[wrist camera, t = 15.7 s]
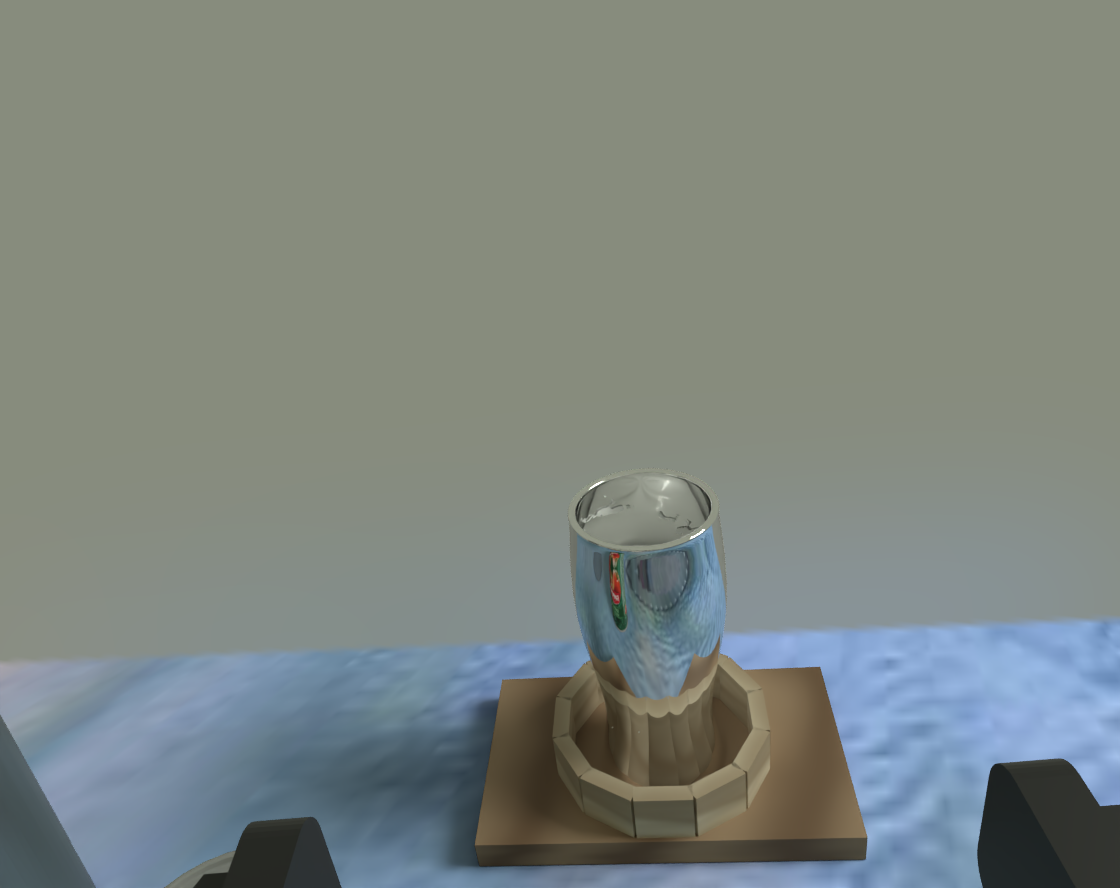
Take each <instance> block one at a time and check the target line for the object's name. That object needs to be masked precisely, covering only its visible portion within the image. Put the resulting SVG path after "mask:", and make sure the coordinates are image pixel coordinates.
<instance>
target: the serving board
mask: <svg viewBox="0 0 1120 888" xmlns="http://www.w3.org/2000/svg"><path fill="white" fill-rule="evenodd" d="M713 711H714V716H715V719H716V722H717V726H718V729H719V733H720V736H721V741H722V747H723V757H722V762H721V765H720V768H719V770H718V771H716V772H714V773H712V774H710V775H708V776H706V777H705V778H703V779H701V780H699V781H697V782H695V783H693V784H691V785H688V786H650V787H635V786H633V785H631V784H628V783H626V782H624V781H622V780H619V779H617V778H615V777H612V776H611V775H610V774H609V772H608V770H607V768H606V766H605V763H604V758H603V740H604V732H605V724H606V707H605V702H604V697H603V694H602V691H601V688H600V685H599V682H598V679H597V676H596V674H595V671H594V668H593V666H592V663H591V660H590V661H588V662H586V664H583V666H582V667H581V668H580V669H579V670H578V671H577V673H576V674H575V675H574V676H573V677H558V678H533V679H509V680H502V685H501V691H500V697H499V703H498V709H497V715H496V721H495V727H494V733H493V739H492V745H491V751H490V757H489V763H488V769H487V775H486V781H485V787H484V793H483V798H482V804H481V810H480V816H479V822H478V828H477V834H476V840H475V849H476V853H477V858H478V862H479V866H519V865H576V864H633V863H691V862H748V861H806V860H863V859H866V850H867V834H866V831H865V827H864V823H863V820H862V816H861V813H860V809H859V805H858V802H857V798H856V795H855V791H854V787H853V784H852V780H851V777H850V773H849V769H848V766H847V762H846V759H845V755H844V751H843V748H842V744H841V741H840V737H839V733H838V730H837V726H836V723H835V719H834V715H833V712H832V708H831V705H830V701H829V697H828V694H827V690H826V687H825V683H824V679H823V676H822V672H821V669H820V667H806V668H781V669H756V670H743V669H742V668H741V667H739V666H738V665H737V664H736V663H735V662H734V661H733V660H732V659H731V658H728V656H726V655H723V654H720V655H719V660H718V665H717V670H716V675H715V681H714V687H713Z"/></svg>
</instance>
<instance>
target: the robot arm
mask: <svg viewBox="0 0 1120 888" xmlns="http://www.w3.org/2000/svg"><path fill="white" fill-rule="evenodd" d="M977 857H978V866H979V873H980V878H981V882H982V886H983V888H1120V805H1110V806H1100V805H1099V804H1098V802H1097V801H1096V799H1095V798H1094V796H1093V795H1092V793H1091V792H1090V790H1089V789H1088V787H1087V786H1086V784H1085V782H1084V781H1083V779H1082V778H1081V776H1080V775H1079V773H1078V772H1077V771H1076V769H1075V768H1074V767H1073V766H1072V765H1071V764H1070V763H1069V762H1068V761H1066V760H1064V759H1047V760H1034V761H1022V762H1010V763H998V764H994V765H993V766H992V768H991V770H990V774H989V780H988V786H987V792H986V798H985V805H984V811H983V817H982V823H981V829H980V836H979V842H978V850H977ZM0 888H96V887H95V885H94V883H93V881H92V879H91V878H90V876H89V874H88V872H87V870H86V869H85V867H84V865H83V863H82V861H81V860H80V858H79V856H78V854H77V852H76V851H75V849H74V847H73V845H72V844H71V841H70V839H69V837H68V835H67V834H66V832H65V830H64V828H63V827H62V825H61V823H60V821H59V819H58V818H57V816H56V814H55V812H54V810H53V809H52V807H51V805H50V803H49V801H48V800H47V798H46V796H45V794H44V792H43V791H42V789H41V787H40V785H39V783H38V782H37V780H36V778H35V776H34V774H33V773H32V771H31V769H30V767H29V765H28V764H27V762H26V760H25V758H24V756H23V755H22V753H21V751H20V749H19V747H18V746H17V744H16V742H15V740H14V738H13V737H12V735H11V733H10V731H9V730H8V728H7V726H6V724H5V722H4V721H3V719H2V717H1V715H0ZM193 888H341V885H340V882H339V879H338V876H337V873H336V871H335V868H334V865H333V862H332V859H331V856H330V854H329V851H328V848H327V845H326V842H325V839H324V837H323V834H322V831H321V828H320V825H319V823H318V821H317V820H316V819H315V818H314V817H304V818H292V819H280V820H267V821H255V822H251V823H250V824H249V825H248V826H247V827H246V828H245V830H244V831H243V833H242V836H241V838H240V840H239V843H238V846H237V849H236V851H235V854H234V857H233V860H232V862H231V865H230V868H229V871H228V872H225V873H212V874H204V875H203V876H202V877H201V879H200V880H199V881H198V882H197V884H196V885H195V886H194V887H193Z"/></svg>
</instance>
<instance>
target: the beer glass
mask: <svg viewBox="0 0 1120 888" xmlns="http://www.w3.org/2000/svg"><path fill="white" fill-rule="evenodd" d="M568 520H569V530H570V561H571V562H570V563H571V577H572V588H573V596H574V601H575V607H576V613H577V618H578V622H579V625H580V629H581V633H582V636H583V640H584V643H585V646H586V649H587V651H588V654H589V657H590V660H591V663H592V666H593V668H594V671H595V674H596V676H597V679H598V682H599V685H600V688H601V691H602V694H603V697H604V702H605V707H606V724H605V732H604V740H603V758H604V763H605V766H606V768H607V770H608V772H609V774H610V775H611V776H612V777H615V778H617V779H619V780H622V781H624V782H626V783H628V784H631V785H633V786H635V787H650V786H688V785H691V784H693V783H695V782H697V781H699V780H701V779H703V778H705V777H706V776H708V775H710V774H712V773H714V772H716V771H718V770H719V768H720V765H721V762H722V757H723V747H722V741H721V736H720V733H719V729H718V726H717V722H716V719H715V716H714V711H713V687H714V681H715V675H716V670H717V665H718V660H719V655H720V649H721V644H722V638H723V632H724V624H725V616H726V601H727V598H726V597H727V595H726V593H727V580H726V566H725V553H724V545H723V537H722V530H721V523H720V516H719V501H718V498H717V496H716V494H715V492H714V491H713V490H712V489H711V488H710V487H709V486H708V485H707V484H706V483H704V482H703V481H701V480H700V479H698V478H696V477H694V476H691V475H688V474H685V473H682V472H678V471H673V470H667V469H653V468H652V469H651V468H648V469H634V470H627V471H622V472H617V473H614V474H610V475H607V476H604V477H602V478H600V479H597V480H596V481H593V482H592V483H590V484H588V485H587V486H585V487H584V488H583V489H581V491H579V492H578V493H577V494H576V496H575V497H574V498H573V499H572V501H571V503H570V505H569V509H568Z"/></svg>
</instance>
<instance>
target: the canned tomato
mask: <svg viewBox="0 0 1120 888" xmlns="http://www.w3.org/2000/svg"><path fill="white" fill-rule="evenodd" d="M234 854H235V851H232V852H228V853H225V854H223V855H220V856H218V857H215V858H213V859H210V860H208V861H205V862H204V863H202V864H200V865H198V866H196V867H195V868H193V869H191V870H189V871H187V872H186V873H184V874H182V875H181V876H180V877H178V878H177V879H175V880H174V881H173V882H171V883H170V884H169V885H167V886H166V887H164V888H193V887H194V886H195V885H196V884H197V882H198V881H199V880H200V879H201V877H202V876H203V875H204V874H212V873H225V872H228V871H229V868H230V865H231V862H232V860H233V857H234ZM341 888H342V887H341Z"/></svg>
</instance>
